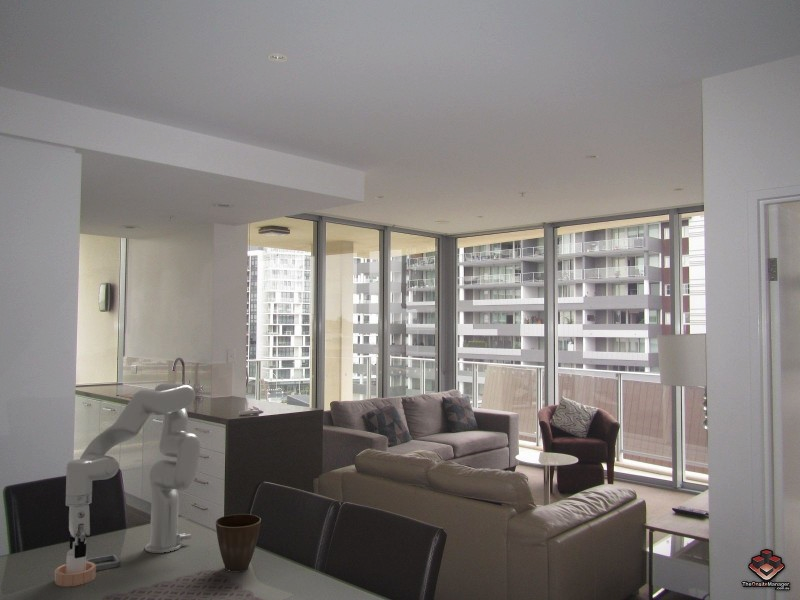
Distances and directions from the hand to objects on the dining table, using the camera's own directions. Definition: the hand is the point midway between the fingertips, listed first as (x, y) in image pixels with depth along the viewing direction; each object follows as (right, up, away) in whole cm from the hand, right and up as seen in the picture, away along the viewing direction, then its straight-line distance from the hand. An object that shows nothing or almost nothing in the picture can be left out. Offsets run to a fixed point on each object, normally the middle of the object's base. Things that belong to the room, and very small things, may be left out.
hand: (77, 552), depth 204 cm
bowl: (0, -8, -1) cm, 8 cm away
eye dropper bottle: (0, -7, -1) cm, 7 cm away
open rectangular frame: (+2, -9, +12) cm, 15 cm away
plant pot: (+49, -10, +11) cm, 51 cm away
